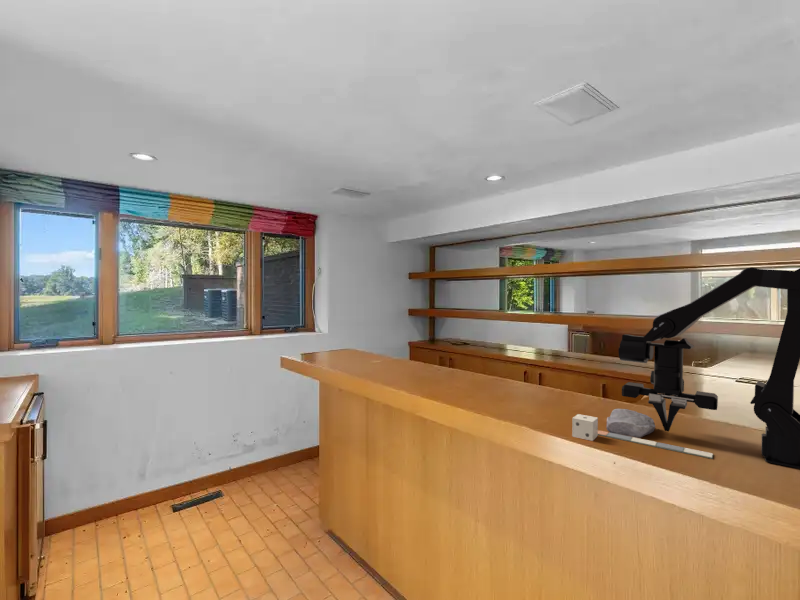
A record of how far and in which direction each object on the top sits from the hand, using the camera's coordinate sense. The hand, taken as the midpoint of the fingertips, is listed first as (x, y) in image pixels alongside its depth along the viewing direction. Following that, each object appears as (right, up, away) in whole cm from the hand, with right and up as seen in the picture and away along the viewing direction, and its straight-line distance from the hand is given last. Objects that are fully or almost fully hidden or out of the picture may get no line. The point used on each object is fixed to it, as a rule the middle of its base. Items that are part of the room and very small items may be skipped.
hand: (667, 430), depth 96 cm
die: (-20, -1, 0) cm, 20 cm away
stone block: (-6, -2, +5) cm, 8 cm away
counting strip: (-8, -1, -4) cm, 9 cm away
